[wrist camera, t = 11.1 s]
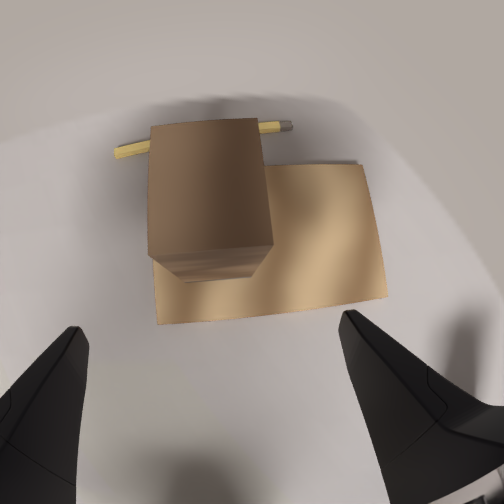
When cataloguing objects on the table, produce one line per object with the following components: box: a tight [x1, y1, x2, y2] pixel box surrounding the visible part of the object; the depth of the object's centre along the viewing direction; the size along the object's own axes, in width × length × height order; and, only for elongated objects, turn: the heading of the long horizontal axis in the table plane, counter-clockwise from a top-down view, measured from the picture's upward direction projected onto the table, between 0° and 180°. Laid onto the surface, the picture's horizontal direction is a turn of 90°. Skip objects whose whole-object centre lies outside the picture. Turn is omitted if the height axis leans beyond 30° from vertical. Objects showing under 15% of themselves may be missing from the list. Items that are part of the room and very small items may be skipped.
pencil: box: [114, 121, 293, 159], centre depth 23 cm, size 15×1×1 cm, turn 101°
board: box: [153, 164, 388, 325], centre depth 22 cm, size 17×11×1 cm, turn 96°
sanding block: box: [148, 118, 274, 283], centre depth 16 cm, size 4×6×10 cm
